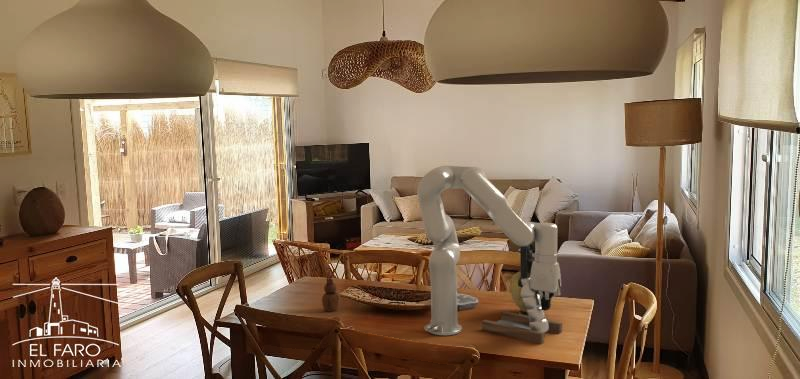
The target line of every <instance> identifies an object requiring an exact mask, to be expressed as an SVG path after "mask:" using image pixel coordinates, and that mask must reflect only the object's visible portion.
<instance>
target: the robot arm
mask: <svg viewBox="0 0 800 379" xmlns="http://www.w3.org/2000/svg"><path fill="white" fill-rule="evenodd" d="M486 176H487V175H486V173H485V171H484V170H483V169H482V168H480V167H477V166H459V165H457V166H456V165H441V166H440V165H439V166H437V167H435V168H432V169H431V170H429V171H427V173H426V174H425V175H424V176H423V177H422V178H421V180H420V181H419V183H418V186H417V191H416V192H417V200H418V205H419V209H420V210H419V211H420V215H421V220H422V223H423V230H424V233H425V236H426V238H427V239H428V241H430V242H432V244H433V247H434V248H433V250H432V251H431V252H430V255H429V260H428V266H429V276H430V310H431V312H430V313H431V315H430V317H431V318H430V320H429V323H428V324H427V325H424V327H423V329H424V331H426V332H428V333H430V334H432V335H436V336H452V335H456V334H457V335H458V334H459V333H461V332H462V326H461V325H460V324H459V323H458V310H457V294H458V287H457V286H458V280H457V279H458V278H457V263H458V262H459V261H460V257H461V248H460V245H459V240H458V235H457V230H456V226H455V223H454V221H453V219H452V218H451V217H450V215H448V214H447V213H446V211H445V208H444V207H445V206H444V203H443V200H442V197H441V196H442V192H443V191H445V190H447V189H454V190H464V191H465V192H466V194H468V195H469V197H470V198H472V200H473V201H474V202H476V203H477V204H478V205H479V206H480V207H481V208H482V209H483V211H485V213H486V214H487V215H488V216H489V218H490V219H491V220H492V221H493V222H494V223H495V225H496V226H497V227H498V228H499V229H500V230H501V231H502V233H503V234H505V235H506V237H508V239H509V240H510V241H511V242H512V243H513V244H515V245H516V246H519V247H521V246H522V247H524V246H528V245H530V244H531V243H532V244H533V242H534V241H535V253H533V254H532V257H534V258H535V261H533V263H532V268H531V275H530V287H531V288H532V289H534V290H536V293H537V294H538V295H539V298H540V299H541V310H543V312H544V311H545V312H546V311H548V310H550V308H551V302H552V299H553V297H556V296H561V294H562V293H561V289H562V278H561V277H562V275H561V268H560V263H559V262H558V226H557V224H556V223H553V222H536V221H535V222H534V221H529V220H524V221H523V220H522V219H521V218H520V217H519V216H518V215H517V213H516V212H514V210H513V209H512V208H511V206H510V204H509V201H508V200H507V198H506V197H505V195H504V194H503V193H502V192H501V191H500V190H499V189H498V188H497V187H496V186H495V184H493V183H492V182H491V181H490V180H489V179H488V178H487V177H486ZM551 298H552V299H551Z"/></svg>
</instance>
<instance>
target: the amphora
mask: <svg viewBox="0 0 800 379" xmlns="http://www.w3.org/2000/svg"><path fill="white" fill-rule="evenodd" d="M517 253H519V254H520V255H519V256H520V257H519V258H520V259H519V260H520V271H517V272H516V273H515V274H514V275H513V276H512V277H511V279H510V281H509V290H510V295H511V298H512V300H513V302H514V304H515V305H516V306H517V307H518V308H519V310H520V311H519V312H518V314H522V315H527V316H528V312H527V309H526V306H525V304H524V302H523V299H522V297H521V290H522V288H523V285H522V282H521V279H525V278H529V277H530V275H531V268H532V263H533V261H535V258H534V257H532V254H533V253H535V241H533V242H532V243H531V244H530V245H528V246H524V247H522V246H520V248H518V249H517ZM551 300H553V297H552V298H551ZM540 301H541V299H540Z"/></svg>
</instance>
